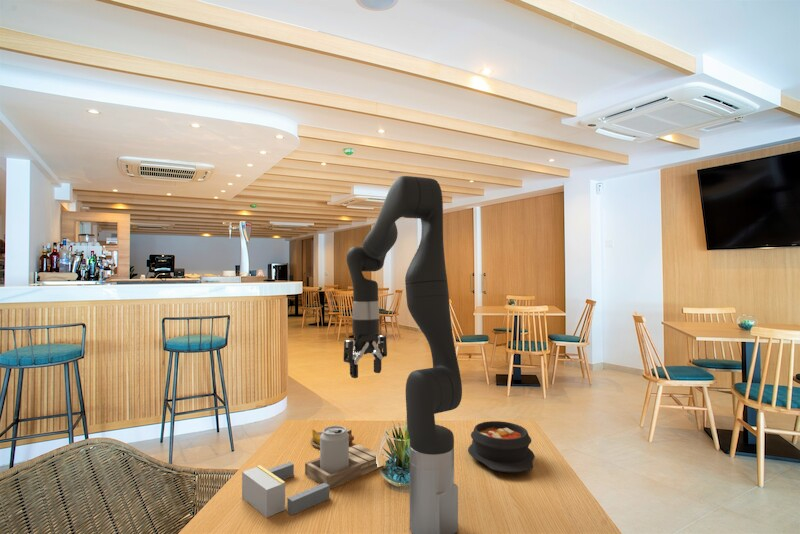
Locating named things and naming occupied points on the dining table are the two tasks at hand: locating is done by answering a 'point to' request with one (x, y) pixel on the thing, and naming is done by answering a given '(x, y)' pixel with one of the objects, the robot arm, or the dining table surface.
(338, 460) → the can
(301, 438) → the dining table surface
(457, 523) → the robot arm
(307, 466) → the pallet
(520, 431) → the casserole
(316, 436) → the toy sandwich meal
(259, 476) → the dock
